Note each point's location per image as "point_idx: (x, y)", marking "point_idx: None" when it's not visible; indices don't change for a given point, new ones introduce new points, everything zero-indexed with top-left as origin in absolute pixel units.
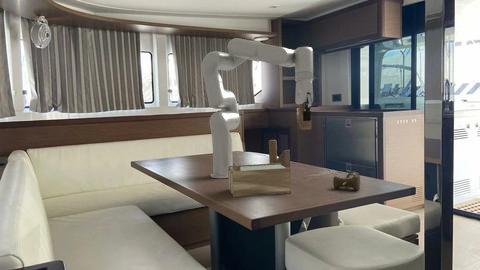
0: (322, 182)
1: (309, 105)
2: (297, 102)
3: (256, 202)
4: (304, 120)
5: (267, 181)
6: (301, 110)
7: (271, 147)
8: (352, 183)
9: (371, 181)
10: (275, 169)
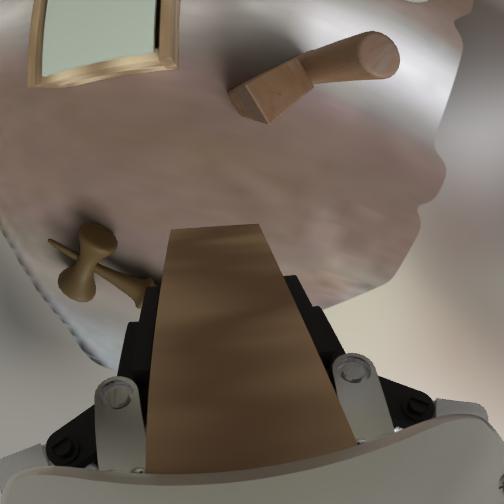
0: (194, 216)
1: (32, 457)
2: (351, 480)
3: (14, 8)
4: (148, 294)
5: None
6: (183, 372)
7: (341, 42)
8: (67, 269)
9: None
10: (30, 33)
